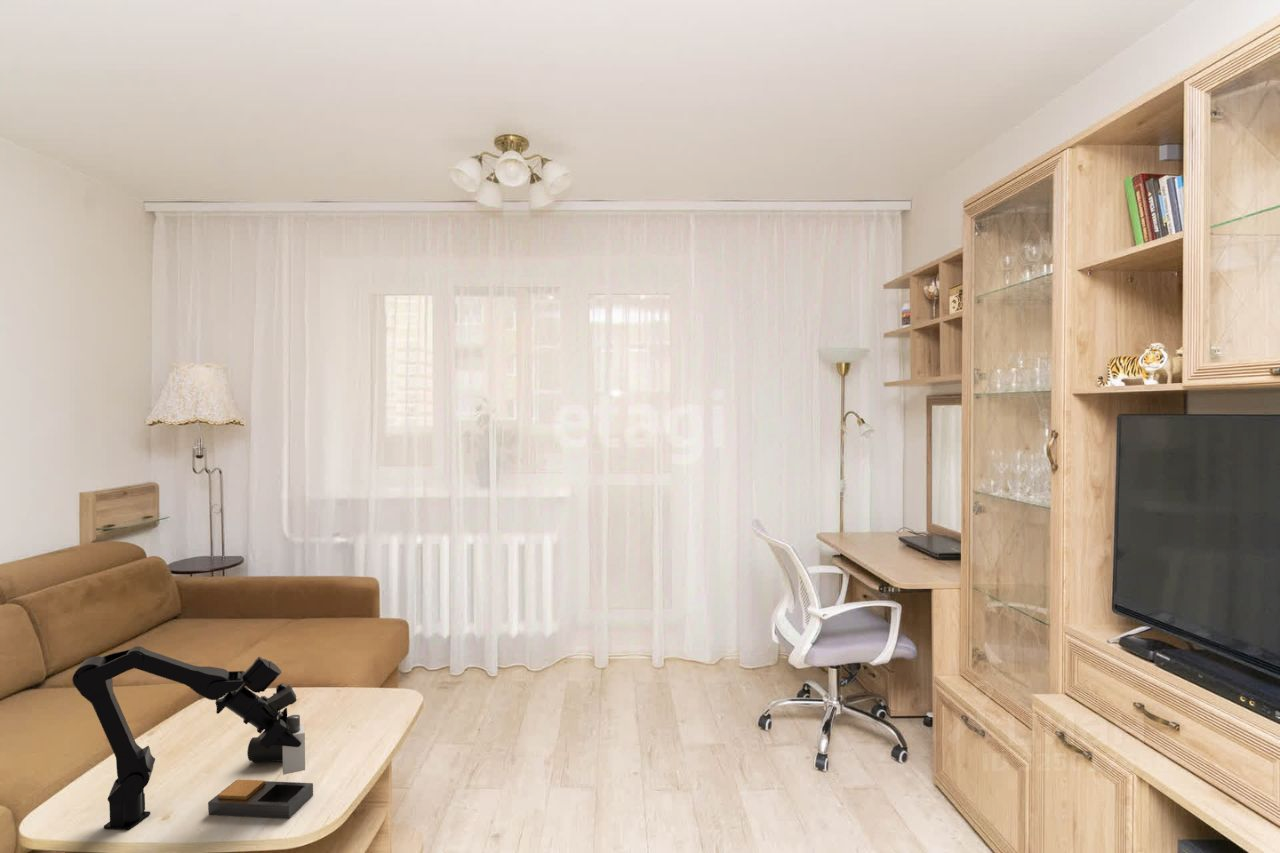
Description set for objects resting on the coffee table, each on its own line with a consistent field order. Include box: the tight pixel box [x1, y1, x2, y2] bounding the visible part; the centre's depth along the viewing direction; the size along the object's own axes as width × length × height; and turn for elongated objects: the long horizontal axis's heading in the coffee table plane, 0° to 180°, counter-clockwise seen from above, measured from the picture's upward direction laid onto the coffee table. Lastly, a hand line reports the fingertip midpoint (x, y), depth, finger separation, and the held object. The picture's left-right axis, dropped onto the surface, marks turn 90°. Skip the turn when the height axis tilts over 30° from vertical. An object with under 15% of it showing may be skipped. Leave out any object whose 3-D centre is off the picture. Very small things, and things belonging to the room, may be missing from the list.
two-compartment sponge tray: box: [207, 778, 314, 820], centre depth 170 cm, size 10×20×4 cm, turn 84°
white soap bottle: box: [282, 714, 306, 776], centre depth 179 cm, size 5×5×13 cm
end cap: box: [247, 732, 283, 763], centre depth 192 cm, size 10×7×7 cm
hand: (299, 740), depth 180 cm, fingers closed on white soap bottle, 5 cm apart
